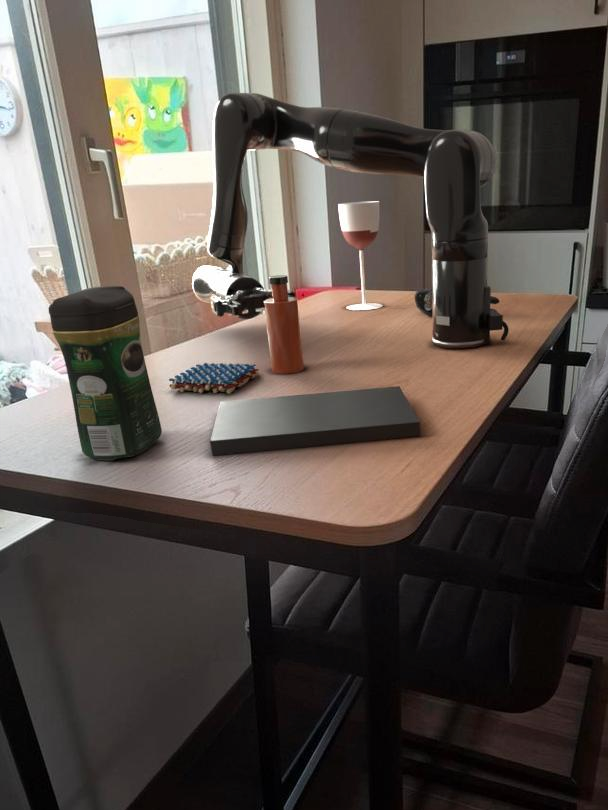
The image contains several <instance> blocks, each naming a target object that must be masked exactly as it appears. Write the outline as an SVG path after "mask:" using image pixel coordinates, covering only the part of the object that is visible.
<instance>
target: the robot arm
mask: <svg viewBox="0 0 608 810" xmlns="http://www.w3.org/2000/svg"><path fill="white" fill-rule="evenodd" d="M212 119H213V120H212V164H213V165H212V167H213V168H212V171H213V172H212V173H213V176H212V177H213V178H212V179H213V189H212V190H213V194H212V195H213V196H212V209H211V217H210V222H209V223H210V225H209V229H208V230H209V231H208V237H207V245H206V247H207V248H206V249H207V252H208V254H209V255H210V256H211V257H212V258H214V259H216V260H218V261H221V262H224V263H226V264H228V267H221V266H212V265H202V266H200V267H198V268H197V269H196V270H195V272H194V273H193V276H192V283H191V285H192V290H193V293H194V294H195V296H196V298H197V299H198V300H200V301H201V302H204V303H208V304H211V305H210V306H211V310H212V311H211V312H212V313H213V314H214V315H215V316H217V317H220V318H222V317H224V316H225V314H227V315H228V316H230V317H236V318H238V319H241V320H251V319H254V318H256V317H258V315H260V314H261V313H262V312H263V311H264V312H265V307H264V301H265V300H267V299H271V298H273V297H272V289H265V287H264V286H263V285H262V284H261V283H260V281H258V280H257V279H255V278H254V277H251V276H248V275H246V274H244V273H245V272H244V246H245V241H246V236H247V230H248V221H249V217H248V208H247V203H246V199H245V194H244V190H243V189H244V188H243V181H242V179H243V168H244V163H245V159H246V156H247V153H248V151H260V150H282V151H293V152H297V153H300V154H303V155H305V156H307V157H309V158H310V159H312V160H314V161H316V162H317V163H319V164H322V165H324V166H326V167H330V168H332V169H338V170H341V171H347V172H352V173H358V174H366V175H367V174H368V175H385V176H386V175H387V176H389V175H391V176H402V175H403V176H411V177H416V178H422V179H423V180H424V181H423V183H424V196H425V197H424V200H425V215H426V221H427V224H428V226H429V229H430V239H431V241H430V243H431V245H430V247H431V249H430V250H431V289H432V314H433V316H432V338H431V340H432V341H431V342H432V345H434V346H435V347H439V348H443V349H470V348H476V347H480V346H483V345H490V343H491V332H493V331H502V330H503V333H502V335H501V337H500V340H501V341H506V339H507V337H508V335H509V325H508V323H507V322H505V320H503V319H504V315H503V314H501V313H500V312H498V310H496V309H495V310H496V311H495V310H490V309H491V303H490V298H491V296H492V295H491V294H492V293H491V292H492V291H491V286H490V285H488V258H489V257H488V246H489V244H488V242H489V238H488V237H489V223H488V220H487V218H486V217H485V216H484V213H483V211H482V204H481V188H482V187H484V186H486V184H487V183H488V182H490V180H491V179H492V177H493V176H494V174H495V172H496V169H497V163H498V160H497V159H498V158H497V152H496V150H495V147H494V146H493V144H492V143H491V141H490V140H489V139H488V138H487V137H486V136H485V135H483V134H482V133H480V132H478V131H475V130H471V129H450V130H449V129H448V130H443V129H429V128H425V127H417V126H413V125H410V124H407V123H404V122H401V121H399V120H395V119H392V118H387V117H384V116H380V115H376V114H371V113H367V112H364V111H357V110H351V109H346V108H338V107H325V106H315V107H314V106H313V107H311V106H310V107H309V106H307V107H306V106H298V105H296V104H291V103H288V102H285V101H281V100H278V99H276V98H274V97H270V96H267V95H264V94H260V93H256V92H229V93H227V94H224V95H223V96H221V97H220V99H218V101H217V103H216V105H215V108H214V112H213V118H212ZM287 290H288V297H295V298H297V297H296V291H294V290H291V289H288V288H287Z"/></svg>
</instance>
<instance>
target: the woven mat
mask: <svg viewBox="0 0 608 810" xmlns="http://www.w3.org/2000/svg"><path fill="white" fill-rule="evenodd" d="M256 366H257V365H256V364H255V363H254V364H249V363H245V364H244V363H231V362H230V363H228V364H227V363H223V362H220V363H214V362H212V363H209V362H204V363H202V364H199V363H197V364H196V365H195V366H191V367H190V369H186V370H185V372H180V373H179V375H178V374H177V375H175V376H174V378H172V377H171V378H168V381H169V382H171V383H170V384H169V388H170V389H171V390H179V392H180V393H183V392H185V391H188V392H189V391H190V392H191V391H192V392H194V393H196V392H198V393H200V394H202V393H204V392H205V391H207V392H209V391H212V392H213V394H216V393H219V392H221V393H226V394H228V395H231V394H232V392H234V391H235V389H237V388H241V387H242V386H244V385H245V384H247V383H248V381H249V380H250V379H252V380H253V379H255V378H256V377H258V376H259V374H260V372H259V368H256Z"/></svg>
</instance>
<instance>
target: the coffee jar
mask: <svg viewBox="0 0 608 810" xmlns="http://www.w3.org/2000/svg"><path fill="white" fill-rule="evenodd" d="M48 314H49V318H50V325H51V329H52V334H53V337H54V339H55V340H56V342H57V344H58V346H59V348H60V351H61V353H62V356H63V360H64V363H65V368H66V373H67V378H68V383H69V387H70V388H69V389H70V392H71V393H70V394H71V397H72V403H73V409H74V416H75V422H76V429H77V433H78V438H79V443H80V447H81V452H82V454H83V455H85V456H86V457H89V458H92V459H95V460H98V461H116V460H117V459H122V458H131V457H136V456H138V455H139V454H141V453H143V452H144V451H146V450H147V449H148V448H150V447H151V446H153V444H155V443H156V442H157V441H158V440H159V439H160V437H161V436H162V432H163V429H162V425H161V420H160V416H159V411H158V409H157V408H158V407H157V405H156V400H155V397H154V393H153V389H152V385H151V381H150V377H149V372H148V369H147V363H146V360H145V356H144V350H143V345H142V339H141V328H140V327H141V326H140V316H139V312H138V307H137V304H136V302H135V297H134V295H133V293H131V292H130V291H129V290H128V289H127V288H125V287H124V286H122V285H105V286H104V285H103V286H101V285H100V286H92V287H88V288H85V289H81V290H78V291H76V292H71V293H70V294H67V295H64V296H61V297H58V298H55V299H54V300H53V301H52V303H51V304H50V305H49V306H48Z"/></svg>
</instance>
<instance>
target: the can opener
mask: <svg viewBox="0 0 608 810" xmlns="http://www.w3.org/2000/svg"><path fill="white" fill-rule="evenodd" d="M500 302H501V300H500V299H499V298H498V297H496V296H492V295H491V298H490V305H497V304H499V303H500ZM414 303H415V305H416V306H415V307H416V309H418V310H419V312H421V313H422V314H424V315H426V316H431V317H433V314H432V288H419V289H418V290H416V291H415V294H414ZM490 310H495V311H497V309H494V308H490Z"/></svg>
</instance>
